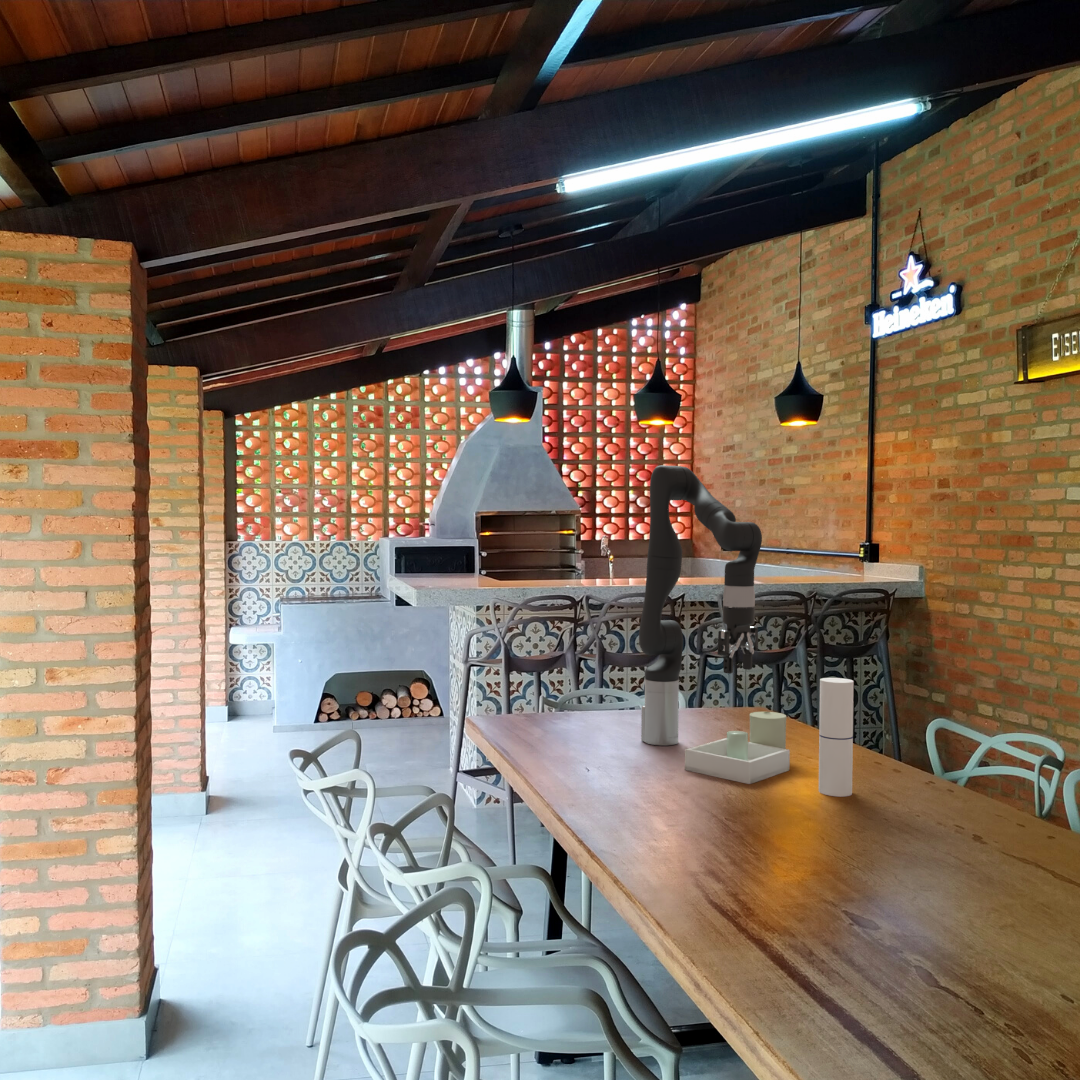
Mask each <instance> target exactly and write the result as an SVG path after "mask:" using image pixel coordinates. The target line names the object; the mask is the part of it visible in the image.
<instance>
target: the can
mask: <svg viewBox="0 0 1080 1080" xmlns="http://www.w3.org/2000/svg"><path fill="white" fill-rule="evenodd" d="M786 739H787V715H786V714H784V713H781V712H777V711H776V712H775V711H753V712H750V713H749V742H751V743H756V744H762V745H767V746H772V747H778V748H783V749H787V748H786V743H787V742H786V741H787V740H786Z"/></svg>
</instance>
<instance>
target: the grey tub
mask: <svg viewBox="0 0 1080 1080" xmlns="http://www.w3.org/2000/svg"><path fill="white" fill-rule="evenodd" d="M790 752H791V750H790V749H787V748H786V749H783V748H778V747H772V746H767V745H762V744H756V743H751V742H750V741H748V761H746V760H741V759H736V758H731V757H727V737H725V738H724V737H723V738H722V739H717V740H713V741H711V742H707V743H703V744H700V745H695V746H692V747H690V748H684V770H685V771H686V772H687V771H688V772H693V773H696V774H702V775H706V776H711V777H715V778H720V779H723V780H729V781H734V782H738V783H743V784H747V785H751V784H754V783H757V782H761V781H763V780H766V779H768V778H771V777H775V776H777V775H781V774H783V773H786V772H788V771H790V761H791V760H790V759H791V758H790V757H791V756H790Z"/></svg>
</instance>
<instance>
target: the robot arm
mask: <svg viewBox="0 0 1080 1080" xmlns="http://www.w3.org/2000/svg"><path fill="white" fill-rule="evenodd" d="M670 501H686V502H688V503H689V504H691V505H693V506H694V509H693V510H694V515H695V517H696V518H697V520H698V521H699V522H700V523H701V524H702V525H703V526H704V527H705V528H706V529H707V530H709V531H710V532H711V533H712V535H713V538H714V539H715V541H716V543H717V545H718V546H719V547H721V548H722V549H723V550H726V551H729V552H739V554H738V555H737V558H735V559H734V560H730V561H728V562H726V564H725V565H724V581H723V583H724V589H723V596H722V600H723V601H722V623H723V624H725V625H726V630H725V629H719V630H718V634H717V636H718V638H717V655H718V656H721V657H722V658H723V661H722V662H723V669H722V670H723V673H724V674H731V675H732V674H733V672H734V656H735V655H734V654H735V652H736V651H738V649H739V648H741V650H742V653H743V654H742V669H743V670H746V671H747V670H749V671H750V670H752V669H753V655H754V654H755V652H758V650H759V632H758V631H759V628H758V626H752V625H754V624H755V616H756V615H755V613H756V612H755V611H756V608H755V607H756V593H755V569H756V564H757V561H758V558H759V554H760V551H761V548H762V543H763V534H762V531H761V527H759V525H758V524H756V523H755V522H751V521H737V520H736V515H735V514H734V513H733V512H732V510H731V509H729V508H728V507H727V506H726V505H724V504H723V503H722V502H721V501H719V500H718V499H717V498H715V497H714V496H713V494H711V492H710V491H709V490H708V489H707V487H706V486H705V485H704V484H703V483H702V482H701V480H700V479H699V478H698V476H697V475H696V474H695V473H694V472H693V471H692V470H691V469H690V468H689V467H687V466H681V465H664V464H663V465H657V466H656V467H655V468H654V469H653V471H652V473H651V475H650V482H649V507H650V508H649V509H650V510H649V511H650V514H649V517H650V519H649V538H648V539H649V540H648V548H647V559H646V576H645V577H646V578H645V579H646V580H645V589H644V597H643V598H644V600H643V605H642V613H641V618H640V624H639V630H638V643H639V647H640V649H641V651H642V652H643V653H644V654H645V655H647V656H657V655H659V657H658V659H657V660H656V661H655V662H654V663H653V664H651V665H649V666H647V667H646V668H645V670H644V705H642V706H641V714H640V715H641V717H640V718H641V723H640V724H641V727H640V728H641V730H640V733H641V734H640V737H641V738H640V739H641V742H644V743H645V744H649V745H652V746H654V745H655V746H674V745H677V744H679V716H680V715H679V714H680V713H679V710H680V707H679V705H680V704H679V702H680V701H679V700H680V697H679V695H680V694H679V692H680V691H679V689H680V684H679V683H680V682H679V681H680V672H681V669H682V660H683V648H684V647H683V646H684V639H683V638H684V637H683V631H682V628H681V625H680V624H679V622H677V621H676V620H671V619H668V620H667V619H666V620H665V619H663V620H662V615H663V611H664V605H665V603H666V602H667V601H666V600H667V599H668V597H669V595H670V594H671V593H672V590H674V588H675V586H676V584H677V583H678V581H679V579H680V576H681V573H682V562H683V561H682V560H683V548H682V547H683V546H682V545H681V541H680V540H679V537H678V535H677V533H676V531H675V530H674V528H673V525H672V523H671V518H670Z"/></svg>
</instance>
